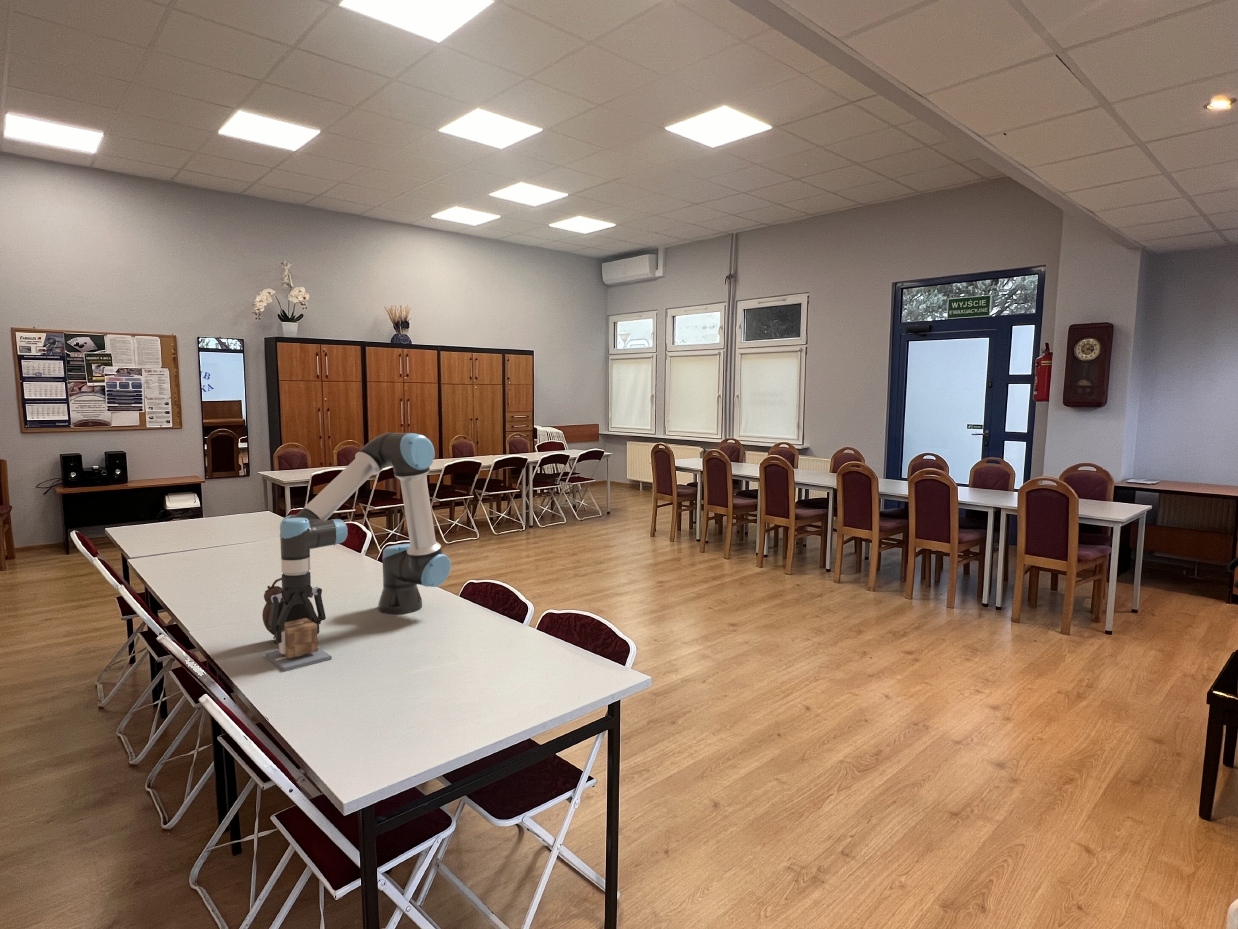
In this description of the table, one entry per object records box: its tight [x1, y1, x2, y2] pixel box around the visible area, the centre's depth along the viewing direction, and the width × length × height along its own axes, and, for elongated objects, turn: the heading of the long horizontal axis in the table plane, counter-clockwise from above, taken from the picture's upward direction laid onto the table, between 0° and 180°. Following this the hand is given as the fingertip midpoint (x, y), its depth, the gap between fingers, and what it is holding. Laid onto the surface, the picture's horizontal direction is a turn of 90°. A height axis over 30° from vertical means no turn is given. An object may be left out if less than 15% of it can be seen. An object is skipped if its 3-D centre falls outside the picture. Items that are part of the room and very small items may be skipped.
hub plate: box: [264, 647, 333, 672], centre depth 197 cm, size 13×15×6 cm
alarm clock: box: [262, 577, 315, 644], centre depth 211 cm, size 14×7×20 cm, turn 126°
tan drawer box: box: [277, 618, 319, 658], centre depth 197 cm, size 8×8×8 cm
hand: (298, 648), depth 197 cm, fingers closed on tan drawer box, 8 cm apart
